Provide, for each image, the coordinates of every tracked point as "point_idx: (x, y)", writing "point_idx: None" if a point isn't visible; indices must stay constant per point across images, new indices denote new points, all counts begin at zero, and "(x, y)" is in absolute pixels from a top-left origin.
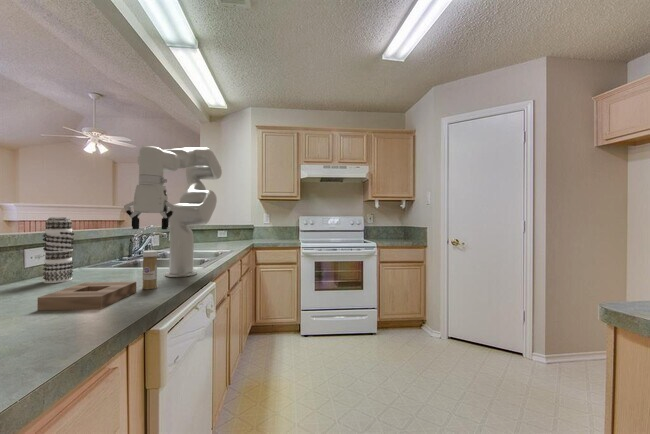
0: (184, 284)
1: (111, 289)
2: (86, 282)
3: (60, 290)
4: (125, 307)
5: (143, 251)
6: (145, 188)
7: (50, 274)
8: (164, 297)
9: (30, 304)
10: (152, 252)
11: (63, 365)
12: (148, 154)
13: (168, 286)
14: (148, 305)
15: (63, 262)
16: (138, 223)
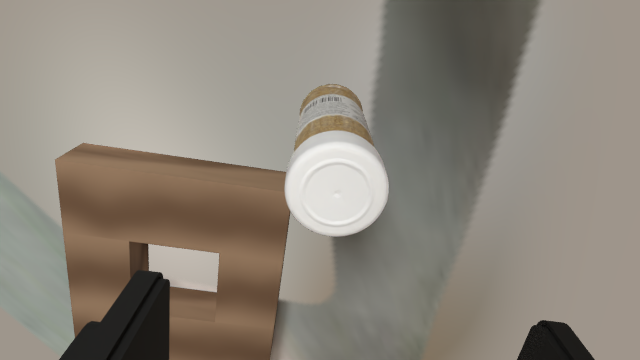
0: (488, 63)
1: (253, 307)
2: (61, 162)
3: (71, 287)
4: (334, 348)
5: (292, 209)
6: None
7: None
8: (427, 274)
9: (15, 264)
10: (363, 227)
11: None
12: None
13: (412, 94)
14: (395, 344)
15: None
16: (136, 353)
